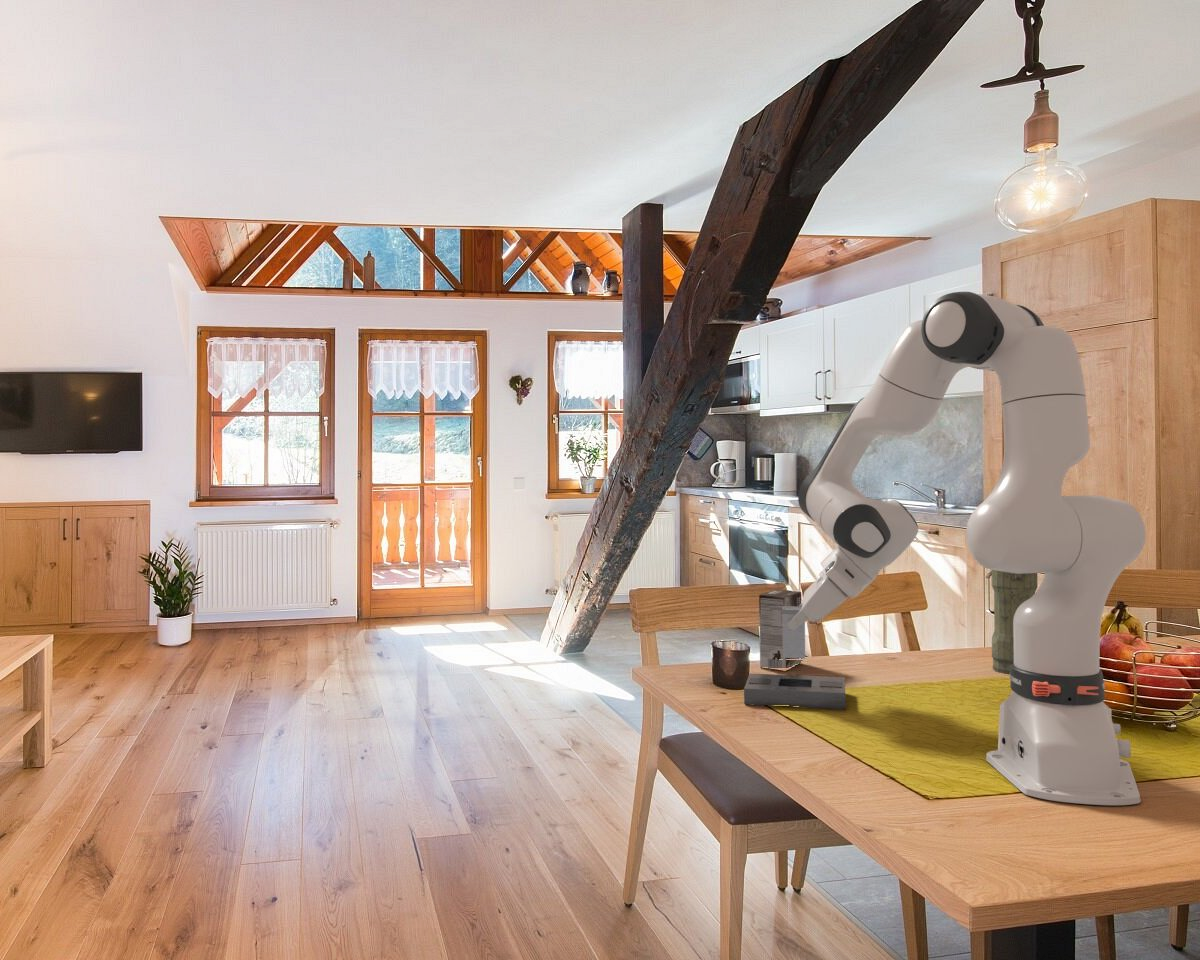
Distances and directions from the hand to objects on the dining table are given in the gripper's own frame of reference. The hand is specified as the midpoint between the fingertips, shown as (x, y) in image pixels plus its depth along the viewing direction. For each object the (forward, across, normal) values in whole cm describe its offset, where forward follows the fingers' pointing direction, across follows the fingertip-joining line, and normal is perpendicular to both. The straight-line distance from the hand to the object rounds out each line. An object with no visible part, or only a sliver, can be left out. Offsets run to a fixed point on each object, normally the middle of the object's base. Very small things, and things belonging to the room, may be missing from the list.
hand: (790, 624), depth 167 cm
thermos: (-22, -32, +42) cm, 57 cm away
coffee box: (+12, -27, +8) cm, 31 cm away
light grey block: (+4, 0, +5) cm, 6 cm away
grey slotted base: (+9, 0, +10) cm, 14 cm away
